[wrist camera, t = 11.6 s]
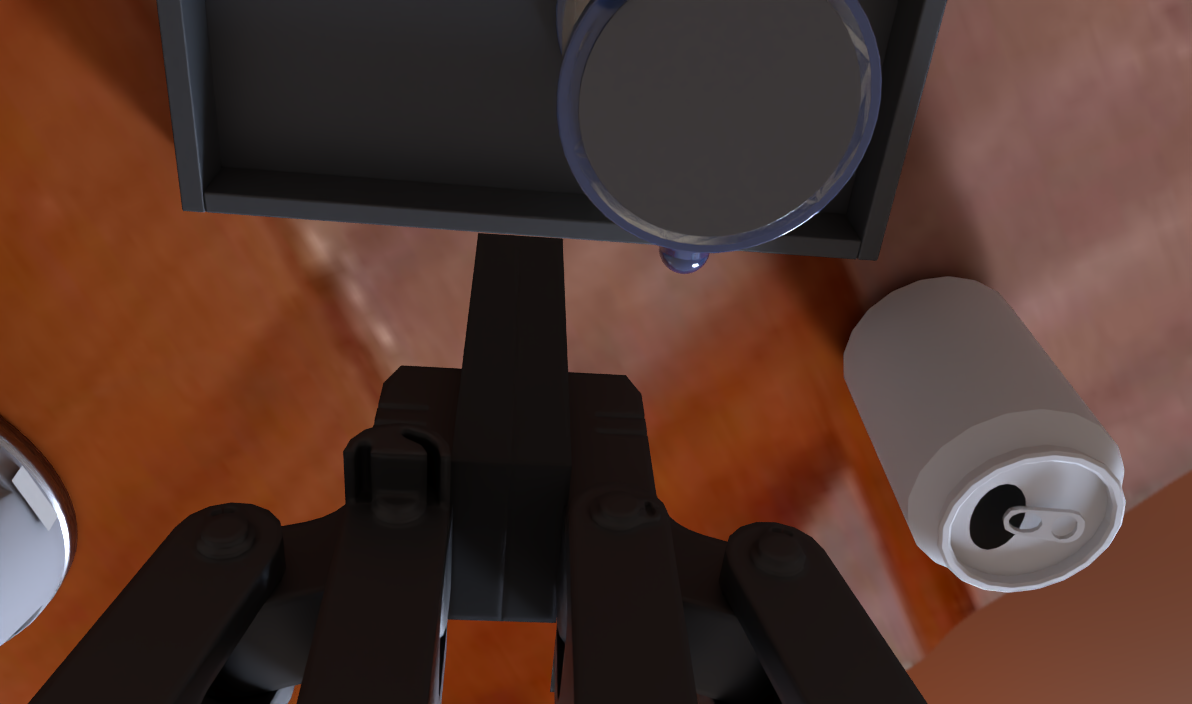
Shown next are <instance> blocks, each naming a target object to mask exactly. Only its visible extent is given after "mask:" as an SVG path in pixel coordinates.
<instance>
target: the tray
mask: <svg viewBox="0 0 1192 704" xmlns="http://www.w3.org/2000/svg"><path fill="white" fill-rule="evenodd" d="M156 1H157V9H158V17H159V25H160V33H161V41H162V49H163V57H164V65H165V73H166V81H167V89H168V97H169V105H170V113H171V121H172V130H173V138H174V146H175V154H176V162H177V170H178V178H179V186H180V194H181V202H182V209H183V211H194V212H205V211H206V212H212V213H226V214H239V215H253V216H267V217H281V218H294V219H308V220H322V221H336V222H349V223H363V224H377V225H391V226H404V227H418V228H432V229H446V230H459V231H473V232H487V233H501V234H515V235H528V236H542V237H556V238H570V239H583V240H597V241H611V242H625V243H638V244H652V245H655V244H653V243H650V242H648V241H645V240H643V239H640V238H638V237H636V236H634V235H633V234H631V233H629V232H627V231H625V230H624V229H622V228H621V227H619V226H618V225H617V224H615V223H614V222H613V221H611V220H610V219H608V218H607V217H606V216H605V215H604V214H603V213H602V212H601V211H600V210H599V209H598V208H597V207H596V206H595V205H594V204H593V203H592V202H591V201H590V199H589V198H588V197H587V195H586V194H585V193H584V192H583V190H582V189H581V187H580V186H579V184H578V182H577V181H576V179H575V177H574V176H573V174H572V172H571V170H570V167H569V165H568V163H567V160H566V158H565V155H564V153H563V149H562V145H561V141H560V138H559V133H558V125H557V117H556V86H557V79H558V72H559V66H560V63H561V59H562V56H561V52H560V48H559V45H558V40H557V32H556V0H156ZM858 1H859V3H860V4H861V6H862V8H863V10H864V11H865V13H866V15H867V17H868V19H869V22H870V24H871V27H872V29H873V32H874V34H875V37H876V42H877V46H878V50H879V54H880V62H881V73H882V88H881V102H880V107H879V113H878V119H877V122H876V125H875V128H874V132H873V135H872V138H871V141H870V143H869V145H868V147H867V149H866V152H865V154H864V156H863V158H862V160H861V162H860V163H859V165H858V167H857V168H856V170H855V172H854V173H853V175H852V176H851V178H850V179H849V180H848V182H847V183H846V184H845V185H844V187H843V188H842V189H841V191H840V192H839V193H838V194H837V195H836V196H835V197H834V198H833V199H832V200H831V201H830V202H829V203H828V204H827V205H826V206H825V207H824V208H823V209H822V210H820V211H819V212H818V213H817V214H815V215H814V216H813V217H812V218H810V219H809V220H808V221H806V222H805V223H803V224H802V225H800V226H798V227H797V228H795V229H794V230H792V231H790V232H788V233H786V234H784V235H782V236H780V237H778V238H776V239H774V240H771V241H768V242H766V243H763V244H760V245H757V246H754V247H750V248H745V249H741V250H737V251H748V252H762V253H776V254H790V255H804V256H817V257H831V258H845V259H856V258H857V259H859V260H873V261H876V260H877V259H878V256H879V252H880V248H881V245H882V241H883V237H884V234H885V230H886V226H887V222H888V219H889V215H890V211H891V207H892V204H893V200H894V196H895V193H896V189H897V185H898V181H899V178H900V174H901V170H902V166H903V163H904V159H905V155H906V152H907V148H908V144H909V140H910V137H911V133H912V129H913V125H914V122H915V118H916V114H917V111H918V107H919V103H920V99H921V96H922V92H923V88H924V85H925V81H926V77H927V73H928V70H929V66H930V62H931V58H932V55H933V51H934V47H935V44H936V40H937V36H938V32H939V29H940V25H941V21H942V17H943V14H944V10H945V6H946V3H947V0H858Z"/></svg>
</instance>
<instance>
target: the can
mask: <svg viewBox="0 0 1192 704" xmlns="http://www.w3.org/2000/svg"><path fill="white" fill-rule="evenodd" d="M844 379H845V381H846V383H847V386H848V388H849V391H850V393H851V395H852V398H853V400H854V402H855V404H856V407H857V409H858V411H859V414H860V416H861V418H862V420H863V423H864V425H865V427H866V430H867V432H868V434H869V437H870V439H871V441H872V443H873V446H874V448H875V450H876V453H877V455H878V457H879V459H880V462H881V464H882V466H883V469H884V471H885V473H886V475H887V478H888V480H889V482H890V485H891V487H892V489H893V492H894V494H895V496H896V498H897V501H898V503H899V505H900V508H901V510H902V512H903V514H904V517H905V519H906V521H907V524H908V526H909V528H910V530H911V533H912V535H913V537H914V540H915V542H916V544H917V546H918V547H919V548H920V549H921V550H922V551H924V552H925V553H926V554H927V555H928V556H929V557H930V558H931V559H932V560H933V561H934V562H936V563H938V564H940V565H943V566H945V567H948V568H949V569H950V570H951V571H952V572H953V573H954V574H955V575H956V576H957V577H958V578H959V579H960V580H962V581H964V582H967V583H969V584H971V585H974V586H976V587H979V588H981V589H984V590H993V591H1002V592H1016V591H1024V590H1033V589H1039V588H1042V587H1045V586H1048V585H1050V584H1053V583H1057V582H1059V581H1062V580H1065V579H1067V578H1068V577H1070V576H1072V575H1073V574H1075V573H1077V572H1078V571H1080V570H1082V569H1084V568H1085V567H1087V566H1089V565H1090V564H1091V563H1092V562H1093V561H1094V560H1095V559H1096V558H1097V557H1098V556H1099V555H1100V554H1101V553H1102V552H1103V551H1104V550H1105V549H1106V548H1107V547H1108V546H1109V545H1110V543H1111V542H1112V540H1113V538H1114V537H1115V535H1116V533H1117V531H1118V530H1119V528H1120V526H1121V525H1122V519H1123V515H1124V509H1125V503H1126V501H1125V498H1124V494H1123V490H1122V482H1123V477H1124V471H1125V470H1124V466H1123V463H1122V459H1121V455H1120V451H1119V447H1118V445H1117V444H1116V443H1115V441H1114V440H1113V439H1112V438H1111V436H1110V435H1109V434H1108V432H1107V431H1106V430H1105V428H1104V427H1103V426H1102V425H1101V423H1100V422H1099V421H1098V419H1097V418H1096V417H1095V415H1094V414H1093V413H1092V412H1091V410H1090V409H1089V408H1088V406H1087V405H1086V404H1085V402H1084V401H1083V400H1082V399H1081V397H1080V396H1079V395H1078V393H1077V392H1076V391H1075V390H1074V388H1073V387H1072V386H1071V384H1070V383H1069V382H1068V380H1067V379H1066V378H1065V377H1064V375H1063V374H1062V373H1061V371H1060V370H1059V369H1058V367H1057V366H1056V365H1055V364H1054V362H1053V361H1052V360H1051V358H1050V357H1049V356H1048V354H1047V353H1046V352H1045V351H1044V349H1043V348H1042V347H1041V345H1040V344H1039V343H1038V341H1037V340H1036V339H1035V338H1034V336H1033V335H1032V334H1031V332H1030V331H1029V330H1028V328H1027V327H1026V326H1025V325H1024V323H1023V322H1022V321H1021V319H1020V318H1019V317H1018V316H1017V314H1016V313H1015V312H1014V310H1013V309H1012V308H1011V307H1010V306H1009V304H1008V303H1007V302H1006V301H1005V300H1004V299H1003V297H1002V296H1001V295H1000V294H999V293H998V292H997V291H995V290H993V289H991V288H989V287H987V286H986V285H984V284H982V283H980V282H978V281H976V280H970V279H964V278H957V277H950V276H947V277H939V278H932V279H924V280H919V281H916V282H914V283H911V284H909V285H907V286H904V287H902V288H899V289H897V290H895V291H892V292H891V293H889V294H888V295H887V296H885V297H884V298H883V299H882V300H880V301H879V302H878V303H876V304H875V305H874V306H872V307H871V308H870V309H868V311H867V312H866V313H865V315H864V316H863V317H862V319H861V320H860V321H859V323H858V324H857V325H856V326H855V328H854V329H853V330H852V333H851V335H850V338H849V341H848V344H847V346H846V349H845V352H844Z"/></svg>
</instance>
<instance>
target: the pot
mask: <svg viewBox="0 0 1192 704" xmlns="http://www.w3.org/2000/svg"><path fill="white" fill-rule="evenodd" d="M556 32H557V40H558V45H559V48H560V52H561V56H562V59H561V63H560V66H559V72H558V79H557V86H556V117H557V125H558V133H559V138H560V141H561V145H562V149H563V153H564V155H565V158H566V160H567V163H568V165H569V167H570V170H571V172H572V174H573V176H574V177H575V179H576V181H577V182H578V184H579V186H580V187H581V189H582V190H583V192H584V193H585V194H586V195H587V197H588V198H589V199H590V201H591V202H592V203H593V204H594V205H595V206H596V207H597V208H598V209H599V210H600V211H601V212H602V213H603V214H604V215H605V216H606V217H607V218H608V219H610V220H611V221H613V222H614V223H615V224H617V225H618V226H619V227H621V228H622V229H624V230H625V231H627V232H629V233H631V234H633V235H634V236H636V237H638V238H640V239H643V240H645V241H648V242H650V243H653V244H655V245H658V246H659V254H660V257H661V259H662V262H663V263H664V264H665V266H666V267H668V268H669V269H670V270H672V271H674V272H676V273H680V274H688V273H692V272H695V271H697V270H698V269H700V268H701V267H702V266H703V265H704V264H705V263H706V261H707V259H708V257H709V253H720V252H730V251H737V250H741V249H745V248H750V247H754V246H757V245H760V244H763V243H766V242H768V241H771V240H774V239H776V238H778V237H780V236H782V235H784V234H786V233H788V232H790V231H792V230H794V229H795V228H797V227H798V226H800V225H802V224H803V223H805V222H806V221H808V220H809V219H810V218H812V217H813V216H814V215H815V214H817V213H818V212H819V211H820V210H822V209H823V208H824V207H825V206H826V205H827V204H828V203H829V202H830V201H831V200H832V199H833V198H834V197H835V196H836V195H837V194H838V193H839V192H840V191H841V189H842V188H843V187H844V185H845V184H846V183H847V182H848V180H849V179H850V178H851V176H852V175H853V173H854V172H855V170H856V168H857V167H858V165H859V163H860V162H861V160H862V158H863V156H864V154H865V152H866V149H867V147H868V145H869V143H870V141H871V138H872V135H873V132H874V128H875V125H876V122H877V119H878V113H879V107H880V102H881V88H882V73H881V62H880V54H879V50H878V46H877V42H876V37H875V34H874V32H873V29H872V27H871V24H870V22H869V19H868V17H867V15H866V13H865V11H864V10H863V8H862V6H861V4H860V3H859V1H858V0H556Z"/></svg>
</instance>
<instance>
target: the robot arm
mask: <svg viewBox="0 0 1192 704" xmlns="http://www.w3.org/2000/svg"><path fill="white" fill-rule="evenodd" d="M343 456H344V478H345V500H346V504H345V505H344V506H342V507H341V508H340V509H338V510H337V511H335V512H333V513H331V514H329V515H326V516H324V517H322V518H318V519H315V520H311V521H307V522H302V523H297V524H292V525H286V526H281V524H280V521H279V520H278V519H277V518H276V517H275V516H274V515H273V514H272V513H271V512H270V511H269V510H266V509H264V508H261V507H258V506H256V505H253V504H244V503H226V504H221V505H215V506H209V507H207V508H205V509H202V510H200V511H198V512H196V513H193V514H191V515H189V516H188V517H187V518H186V519H185V520H183V521H182V522H181V523H180V524H179V525H177V526H176V527H175V528H174V529H173V531H172V532H171V533H170V534H169V535H168V536H167V538H166V539H165V540H164V541H163V542H162V544H161V545H160V546H159V547H158V548H157V550H156V551H155V552H154V553H153V554H152V556H151V557H150V558H149V559H148V560H147V562H146V563H145V564H144V565H143V566H142V568H141V569H140V570H139V571H138V572H137V574H136V575H135V576H134V577H133V578H132V580H131V581H130V582H129V583H128V584H127V586H126V587H125V588H124V589H123V590H122V592H121V593H120V594H119V595H118V596H117V598H116V599H115V600H114V601H113V602H112V604H111V605H110V606H109V607H108V608H107V610H106V611H105V612H104V613H103V614H102V616H101V617H100V618H99V619H98V620H97V622H96V623H95V624H94V625H93V626H92V628H91V629H90V630H89V631H88V632H87V634H86V635H85V636H84V637H83V638H82V640H81V641H80V642H79V643H78V644H77V646H76V647H75V648H74V649H73V650H72V651H71V653H70V654H69V655H68V656H67V657H66V659H65V660H64V661H63V662H62V663H61V665H60V666H59V667H58V668H57V669H56V671H55V672H54V673H53V674H52V675H51V677H50V678H49V679H48V680H47V681H46V683H45V684H44V685H43V686H42V687H41V689H40V690H39V691H38V692H37V693H36V695H35V696H34V697H33V698H32V699H31V701H30V702H29V703H28V704H288V702H289V700H290V698H291V696H292V693H293V689H294V686H295V685H298V684H301V688H300V692H299V696H298V700H297V704H441V700H442V689H443V679H444V669H445V659H446V644H447V619H454V620H485V621H517V622H548V623H556V618H557V630H556V640H555V650H554V660H553V670H552V679H551V689H550V692H555V704H698V703H699V704H927V702H926V701H925V699H924V698H923V696H922V695H921V693H920V692H919V690H918V689H917V687H916V686H915V684H914V683H913V681H912V680H911V678H910V677H909V675H908V674H907V672H906V671H905V669H904V668H903V666H902V665H901V663H900V662H899V660H898V659H897V657H896V656H895V655H894V653H893V652H892V650H891V649H890V647H889V646H888V644H887V643H886V641H885V640H884V638H883V637H882V635H881V634H880V632H879V631H878V629H877V628H876V626H875V625H874V623H873V622H872V620H871V619H870V617H869V616H868V614H867V613H866V611H865V610H864V608H863V607H862V605H861V604H860V602H859V601H858V599H857V598H856V596H855V595H854V594H853V592H852V591H851V589H850V588H849V586H848V585H847V583H846V582H845V580H844V579H843V577H842V576H841V574H840V573H839V571H838V570H837V568H836V567H835V565H834V564H833V562H832V561H831V559H830V558H829V556H828V555H827V553H826V552H825V550H824V549H823V548H822V547H821V546H820V545H819V544H818V543H817V542H816V541H815V540H814V539H813V538H812V537H810V536H809V535H807V534H805V533H803V532H802V531H800V530H798V529H796V528H794V527H790V526H787V525H783V524H779V523H776V522H755V523H752V524H749V525H745V526H742V527H740V528H739V529H737V530H736V531H735V532H734V533H733V534H732V535H730V536H729V540H728V542H726V541H723V540H719V539H716V538H712V537H708V536H705V535H702V534H699V533H696V532H694V531H691V530H688V529H687V528H685V527H683V526H681V525H680V524H678V523H676V522H675V521H674V520H673V519H672V518H671V517H669V515H668V513H667V510H666V508H665V506H664V504H663V502H661V501H660V500H659V499H658V498H657V495H656V490H655V483H654V476H653V470H652V463H651V456H650V449H649V443H648V436H647V429H646V422H645V419H644V409H643V402H642V395H641V393H640V392H639V391H638V390H637V388H636V387H635V386H634V385H633V384H632V382H631V381H630V380H629V379H628V377H627V376H626V375H611V374H592V373H573V372H568V360H567V336H566V311H565V286H564V262H563V239H560V238H545V237H529V236H514V235H498V234H483V233H478V240H477V248H476V257H475V265H474V273H473V281H472V290H471V298H470V306H469V314H468V322H467V331H466V339H465V347H464V355H463V363H462V369H457V368H438V367H419V366H400V367H399V368H398V369H397V370H396V371H395V372H394V373H393V374H392V375H391V376H390V377H389V378H388V379H387V380H386V381H385V382H384V383H383V387H382V391H381V396H380V400H379V405H378V408H377V412H376V417H375V423H374V425H373V427H372V428H369V429H366V430H364V431H362V432H361V433H359V434H358V435H356V436H355V437H354V438H352V439H351V440H350V441H349V443H348V445H347V446H346V448H345V450H344V451H343ZM76 546H77V523H76V516H75V512H74V509H73V505H72V502H71V500H70V497H69V495H68V492H67V490H66V488H65V486H64V484H63V483H62V481H61V479H60V477H59V476H58V474H57V473H56V471H55V470H54V468H53V467H52V465H51V464H50V463H49V462H48V460H47V459H46V458H45V457H44V456H43V454H42V453H41V452H40V451H39V450H38V449H37V448H36V447H35V446H34V445H33V444H32V443H31V442H30V441H29V440H28V439H27V438H26V437H25V436H24V435H23V434H21V433H20V432H19V431H18V430H17V429H16V428H14V427H13V426H12V425H10V424H9V423H8V422H6V421H5V420H4V419H2V418H1V417H0V646H1V645H2V644H3V643H4V642H6V641H8V640H10V639H11V638H12V637H14V636H15V635H17V634H18V633H19V632H21V631H22V630H23V629H25V628H26V627H27V626H28V625H30V624H31V623H32V622H33V621H34V620H35V619H36V618H37V616H38V615H39V614H40V613H41V612H42V611H43V609H44V608H45V607H46V605H47V604H48V603H49V602H50V601H51V600H52V598H53V597H54V595H55V594H56V592H57V590H58V589H59V587H60V585H61V583H62V582H63V580H64V578H65V576H66V575H67V573H68V571H69V569H70V567H71V564H72V562H73V559H74V556H75V552H76Z"/></svg>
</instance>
